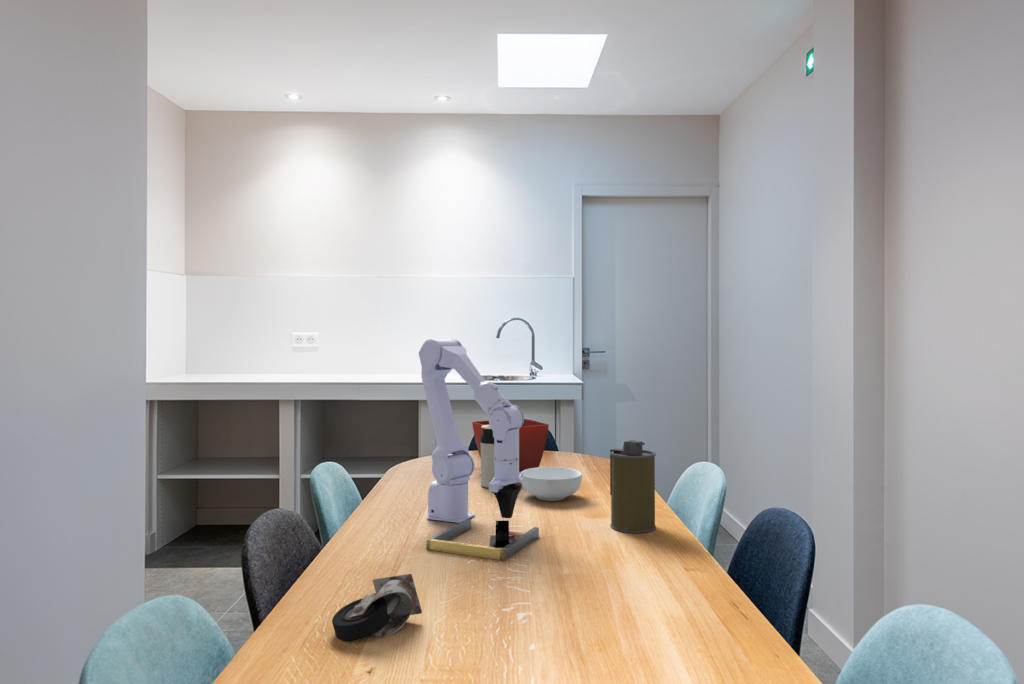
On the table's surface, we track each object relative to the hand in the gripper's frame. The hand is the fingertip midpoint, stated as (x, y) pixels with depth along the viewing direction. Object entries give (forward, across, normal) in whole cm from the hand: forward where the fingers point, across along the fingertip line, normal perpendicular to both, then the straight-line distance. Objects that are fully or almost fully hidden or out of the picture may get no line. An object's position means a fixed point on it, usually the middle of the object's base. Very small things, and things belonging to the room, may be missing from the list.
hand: (506, 517), depth 157 cm
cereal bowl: (+3, +33, +2) cm, 34 cm away
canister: (+3, +14, -26) cm, 29 cm away
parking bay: (+3, -11, 0) cm, 11 cm away
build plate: (+3, -9, -3) cm, 10 cm away
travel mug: (+3, +40, +24) cm, 46 cm away
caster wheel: (+3, -58, -6) cm, 58 cm away
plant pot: (+3, +58, +27) cm, 64 cm away
